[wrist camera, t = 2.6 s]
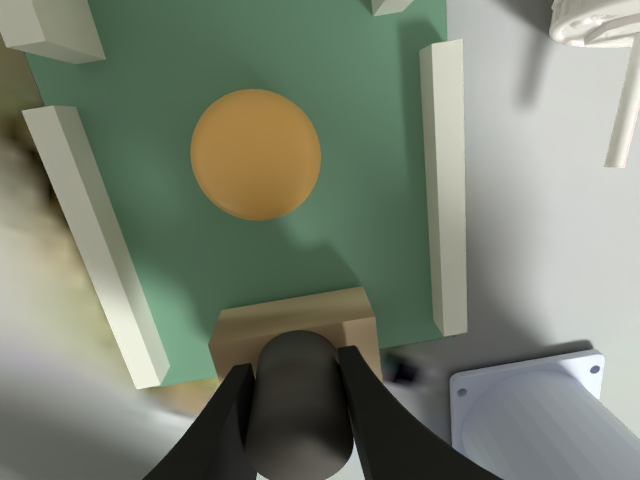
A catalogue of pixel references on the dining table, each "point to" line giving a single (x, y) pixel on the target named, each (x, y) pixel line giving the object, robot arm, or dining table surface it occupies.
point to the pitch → (209, 220)
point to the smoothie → (605, 32)
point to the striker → (297, 377)
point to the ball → (255, 154)
